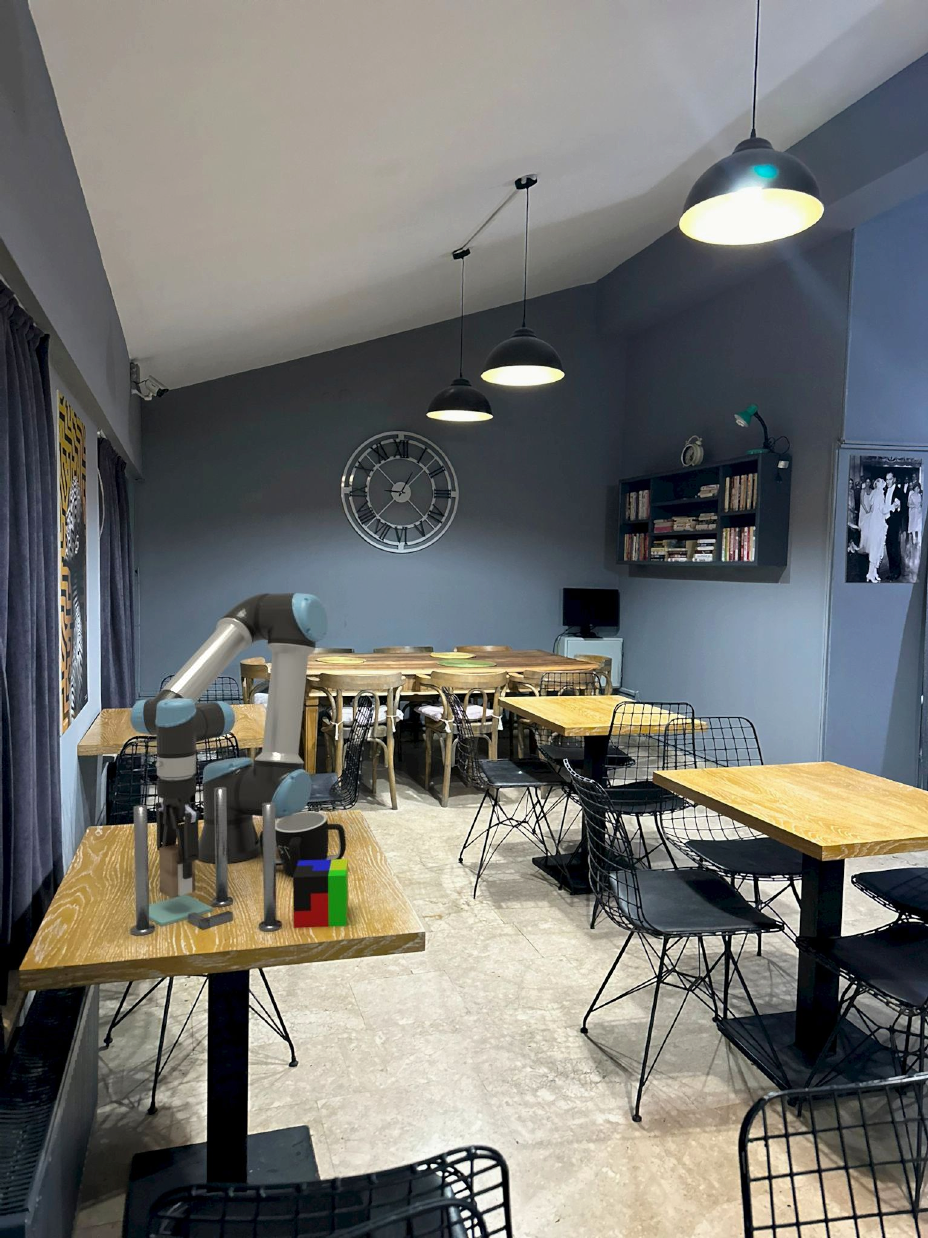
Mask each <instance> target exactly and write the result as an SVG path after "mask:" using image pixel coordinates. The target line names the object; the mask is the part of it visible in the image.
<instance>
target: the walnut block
mask: <svg viewBox="0 0 928 1238" xmlns="http://www.w3.org/2000/svg"><path fill="white" fill-rule="evenodd" d="M158 854H159V857H158V858H159V893H161V894H163V895H164V896H167V897H169V898H170V899H172V898H175V897H179V895H178V864H177V861H180V856H179V849H178V843H176V844H174V845H170V846H166V847H161V848H159V853H158ZM195 892H196V860H194V861H193V862H192V893H195ZM181 896H182V895H181Z"/></svg>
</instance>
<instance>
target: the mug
mask: <svg viewBox="0 0 928 1238" xmlns="http://www.w3.org/2000/svg"><path fill="white" fill-rule="evenodd" d="M329 831H337V836H338V842H339V843H338V845H339V850H338V853H337V854H332V855H329V836H330V835H329ZM345 832H346V831H345V828H344V826H343V825H342V824H341V823H329V822H328V816H327V815H326V814H324V813H323V812H319V811H314V810H313V811H312V810H311V811H302V812H298V813H294V814H292V815H290V816H284V817H282V818H280V819H276V820H275V835H276V850H277V853H278V856H279V858H276V867H277V866H282V867H283V870H284V871H285V874H287V875H288V876H289V877H292V878H293V876H294V873H295V870H296V867H297V864H298V861H300V860H333V859H343V857H344V856H345V854H346V848H347V843H346V840H347V839H346V833H345ZM258 837H259V840H260V848H261V852H260V854H261V856H262V857H263V829H262V830H261V831H260V833H259V835H258Z"/></svg>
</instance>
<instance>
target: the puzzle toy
mask: <svg viewBox="0 0 928 1238" xmlns="http://www.w3.org/2000/svg"><path fill="white" fill-rule="evenodd" d="M292 884H293V885H292V892H293V893H292V895H293V896H292V897H293V900H292V901H293V906H292V907H293V928H294V929H301V928H325V927H327V928H330V927H332V928H333V927H346V926H347V921H348V913H349V908H350V907H349V858H342V859H333V860H300V861H298V864H297V867H296V870H295V873H294V876H293V877H292Z"/></svg>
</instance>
